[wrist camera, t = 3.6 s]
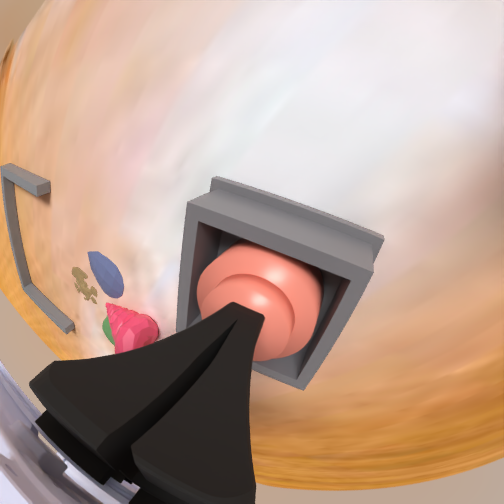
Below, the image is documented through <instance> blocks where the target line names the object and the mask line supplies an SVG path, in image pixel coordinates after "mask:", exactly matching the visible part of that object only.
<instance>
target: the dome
mask: <svg viewBox="0 0 504 504" xmlns="http://www.w3.org/2000/svg"><path fill="white" fill-rule="evenodd" d="M323 297H324V282H323V278H322V275H321V272H320V270H319V268H318V267H316V266H313V265H311V264H308V263H306V262H303V261H301V260H298V259H296V258H293V257H290V256H288V255H285V254H283V253H280V252H278V251H275V250H272V249H270V248H267V247H265V246H262V245H260V244H257V243H254V242H252V241H249V240H247V239H244V238H241V239H240V240H238V241H236V242H235V243H234V244H232V245H231V246H230V247H229V248H228V249H227V250H225V251H224V252H223V253H222V254H221V255H220V256H219V257H218V258H216V259H215V260H214V261H213V262H212V263H211V264H210V265H208V266H207V268H206V269H205V270H204V271H203V273H202V274H201V276H200V279H199V281H198V286H197V301H198V305H199V309H200V312H201V317H202V320H203V319H205V318H207V317H208V316H210V315H212V314H213V313H215V312H216V311H218V310H220V309H221V308H223V307H224V306H226V305H227V304H229V303H230V302H236V303H238V304H240V305H242V306H245V307H247V308H249V309H251V310H254V311H256V312H258V313H261V314H263V315H264V317H265V320H264V323H263V326H262V329H261V332H260V335H259V337H258V340H257V343H256V346H255V350H254V356H253V361H266V360H270V359H276V358H283V357H287V356H289V355H292V354H294V353H296V352H298V351H299V350H301V349H302V348H303V347H304V346H305V345H306V344H307V343H308V341H309V340H310V338H311V336H312V334H313V332H314V328H315V325H316V322H317V319H318V315H319V312H320V309H321V305H322V302H323Z"/></svg>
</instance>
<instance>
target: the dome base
mask: <svg viewBox="0 0 504 504" xmlns="http://www.w3.org/2000/svg"><path fill="white" fill-rule="evenodd" d="M241 238H244V239H247V240H249V241H252V242H254V243H257V244H260V245H262V246H265V247H267V248H270V249H272V250H275V251H278V252H280V253H283V254H285V255H288V256H290V257H293V258H296V259H298V260H301V261H303V262H306V263H308V264H311V265H313V266H316V267H318V268H319V270H320V272H321V275H322V278H323V282H324V297H323V302H322V305H321V309H320V312H319V315H318V319H317V322H316V325H315V328H314V332H313V334H312V336H311V338H310V340H309V341H308V343H307V344H306V345H305V346H304V347H303V348H302V349H301V350H299V351H298V352H296V353H294V354H292V355H289V356H287V357H283V358H276V359H270V360H266V361H253V362H252V370H254V371H257V372H259V373H261V374H264V375H266V376H268V377H271V378H273V379H275V380H278V381H280V382H283V383H285V384H288V385H290V386H293V387H296V388H298V389H301V390H303V391H304V389H305V388H306V387H307V385H308V384H309V382H310V381H311V379H312V378H313V376H314V375H315V373H316V372H317V370H318V369H319V367H320V366H321V364H322V363H323V361H324V360H325V358H326V356H327V355H328V353H329V352H330V350H331V348H332V347H333V345H334V343H335V342H336V340H337V339H338V337H339V335H340V333H341V332H342V330H343V328H344V327H345V325H346V323H347V321H348V320H349V318H350V316H351V314H352V313H353V311H354V309H355V307H356V305H357V303H358V302H359V300H360V298H361V296H362V294H363V292H364V290H365V288H366V286H367V284H368V283H369V281H370V279H371V277H372V275H373V273H374V270H373V263H374V261H375V259H376V257H377V255H378V253H379V250H380V248H381V246H382V244H383V242H384V236H383V235H381V234H378V233H376V232H374V231H371V230H369V229H366V228H364V227H361V226H359V225H356V224H354V223H351V222H349V221H346V220H344V219H341V218H338V217H336V216H333V215H331V214H328V213H325V212H323V211H320V210H317V209H314V208H312V207H309V206H306V205H303V204H301V203H298V202H295V201H292V200H289V199H286V198H284V197H281V196H278V195H275V194H272V193H269V192H266V191H263V190H260V189H257V188H254V187H251V186H247V185H244V184H241V183H238V182H235V181H232V180H228V179H225V178H222V177H218V176H216V177H213V178H212V181H211V186H210V192H209V193H206V194H204V195H202V196H199V197H197V198H195V199H193V200H190V201H188V202H187V208H186V216H185V224H184V233H183V242H182V252H181V263H180V274H179V287H178V302H177V319H176V332H177V333H178V332H180V331H182V330H184V329H186V328H188V327H190V326H192V325H194V324H196V323H198V322H199V321H201V320H202V317H201V312H200V309H199V305H198V301H197V286H198V281H199V279H200V276H201V274H202V273H203V271H204V270H205V269H206V268H207V266H208V265H210V264H211V263H212V262H213V261H214V260H215V259H216V258H218V257H219V256H220V255H221V254H222V253H223V252H224V251H225V250H227V249H228V248H229V247H230V246H231V245H232V244H234V243H235V242H236V241H238V240H240V239H241Z"/></svg>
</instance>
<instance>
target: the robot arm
mask: <svg viewBox="0 0 504 504" xmlns="http://www.w3.org/2000/svg"><path fill="white" fill-rule="evenodd" d="M264 320H265V317H264V315H263V314H261V313H258V312H256V311H254V310H251V309H249V308H247V307H245V306H242V305H240V304H238V303H236V302H230V303H229V304H227V305H226V306H224V307H223V308H221V309H220V310H218V311H216V312H215V313H213V314H212V315H210V316H208V317H207V318H205V319H203V320H201V321H199V322H198V323H196V324H194V325H192V326H190V327H188V328H186V329H184V330H182V331H180V332H178V333H176V334H174V335H172V336H169V337H167V338H165V339H162V340H160V341H157V342H155V343H152V344H149V345H146V346H143V347H140V348H137V349H133V350H130V351H126V352H122V353H118V354H113V355H108V356H102V357H96V358H90V359H80V360H65V361H54V362H52V363H51V364H50V365H48V366H47V367H46V368H45V369H44V370H42V371H41V372H40V373H39V374H38V375H37V376H36V377H35V378H34V379H32V380H31V381H30V383H29V386H30V388H31V389H32V391H33V392H34V394H35V395H36V396H37V398H38V399H39V400H40V402H41V403H42V404H43V406H44V407H45V408H46V409H47V410H46V411H45V412H44V413H43V414H41V413H40V411H39V410H38V409H37V408H36V407H35V406H34V405H33V403H32V402H31V401H30V400H29V399H28V397H27V396H26V395H25V394H24V392H23V391H22V390H21V389H20V387H19V386H18V385H17V383H16V382H15V381H14V379H13V378H12V377H11V375H10V374H9V372H8V371H7V370H6V368H5V367H4V365H3V363H2V362H1V361H0V504H255V493H256V482H255V476H254V470H253V463H252V454H251V443H250V425H249V395H250V379H251V370H252V362H253V356H254V350H255V346H256V343H257V340H258V337H259V335H260V332H261V329H262V326H263V323H264ZM38 431H39V432H40V433H41V434H42V436H43V437H44V438H45V439H46V440H47V441H48V442H49V443H50V444H51V445H52V446H53V447H54V448H55V449H56V450H57V451H58V452H57V453H55V452H54V451H53V450H51V449H50V448H49V447H48V446H47V445H46V444H45V443H44V442H43V441H42V440H41V439H40V438H39V437H38Z"/></svg>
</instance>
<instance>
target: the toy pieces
mask: <svg viewBox="0 0 504 504" xmlns="http://www.w3.org/2000/svg"><path fill="white" fill-rule="evenodd" d="M88 256H89V261H90V266H91V270H92V272H93V273H94V275H95V277H96V280H97V282H98V283H99V285H100V286H101V288H102V290H103V291H104V292H105V293H106V294H107V295H109V296H110V297H112V298H119V297H121V296H122V294H123V289H124V284H123V278H122V276H121V274H120V272H119V270H118V268H117V266H116V265H115V264H114V263H113V262H112V261H110V260H109V259H108V258H107V257H105V256H104V255H102V254H101V253H99V252H98V251H96V252H88ZM72 275H73V276H74V277H76V279H77V280H76V282H77V284H78V285H80V287H78V285H77V284H76V283H75V287H76V288H79V289H77V291H78V292H80V291H81V292H82V293H83V294H84V295H85V296H86V298H85V297H84V299H85V300H89V299H91V300H92V301H93V303H95V304H97V302H96V300H95V299H94V298H93V297H91V298H90V296H91V295H92V294H93V295H94V296H96V297H97V290H96V289H95V288H94V287H93V286H92V287H91V290H90V289H88V288H87V286H88V285H87V283H86V282H84V278H85V279H86V278H88V276H87V275H86V274H85V273H84V272H83V271H82V270H81V269H80V268H78V267H73V269H72ZM106 308H107V315H108V316H107V317H106V319H105V320H104V321H103V331H104V333H105V335H106V337H107V338H108V339H109V340H110V342H111V343H112V344H113V345H114V346H115V354H118V353H122V352H126V351H130V350H133V349H137V348H140V347H143V346H146V345H149V344H152V343H154V341H155V340H156V338H157V337H158V325H157V324H156V323H155V322H154V321H153V320H152V319H151V318H150V316H147V315H144V314H138V313H137V312H135V311H132V310H128V309H126V308H122V307H120V306H116V305H114V304H110V303H106Z"/></svg>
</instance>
